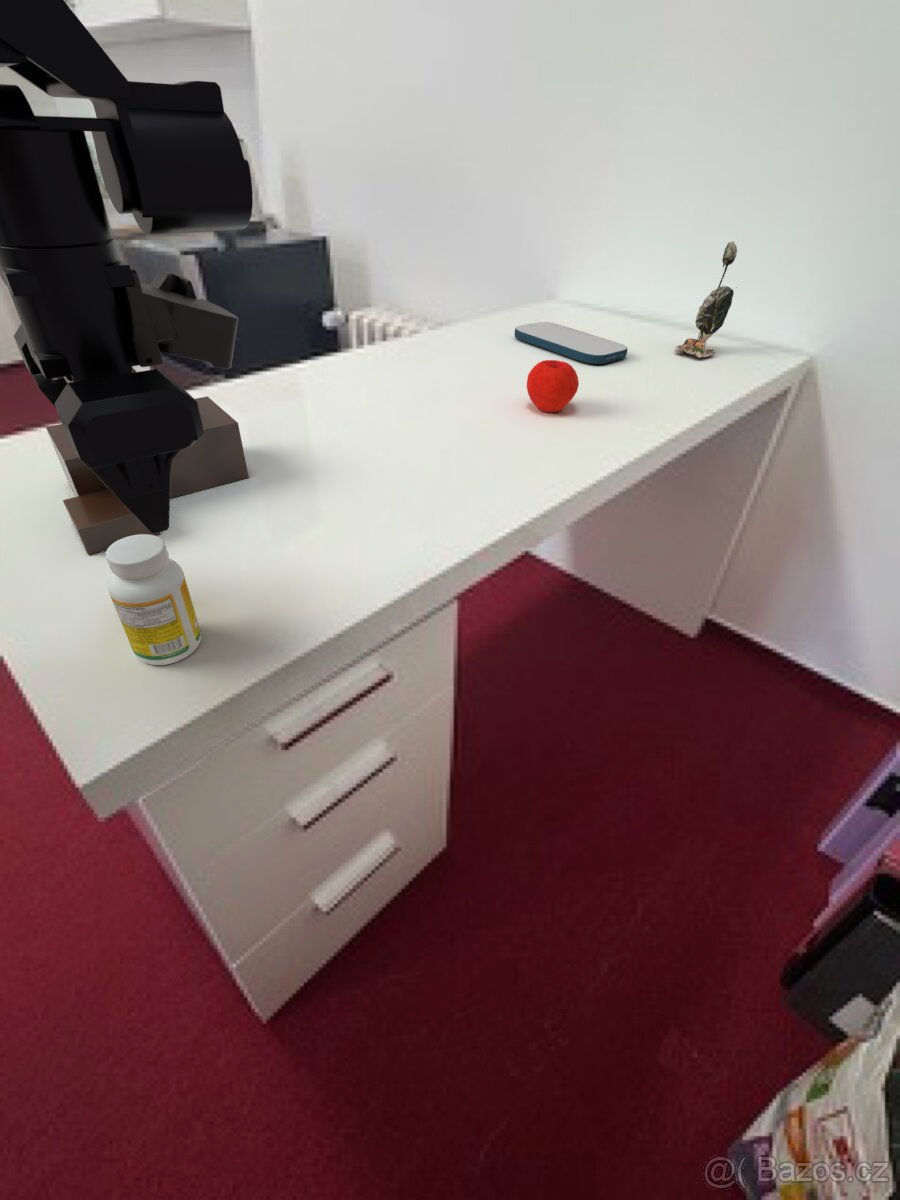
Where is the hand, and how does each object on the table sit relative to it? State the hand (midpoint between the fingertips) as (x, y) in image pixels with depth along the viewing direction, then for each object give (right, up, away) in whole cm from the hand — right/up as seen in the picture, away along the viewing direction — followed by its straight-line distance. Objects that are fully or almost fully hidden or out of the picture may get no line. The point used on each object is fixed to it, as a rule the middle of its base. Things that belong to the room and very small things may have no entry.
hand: (140, 501), depth 41 cm
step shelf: (-12, +5, +28) cm, 31 cm away
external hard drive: (+45, +44, +80) cm, 102 cm away
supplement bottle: (-2, -11, +9) cm, 14 cm away
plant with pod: (+72, +44, +80) cm, 116 cm away
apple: (+37, +23, +53) cm, 69 cm away
